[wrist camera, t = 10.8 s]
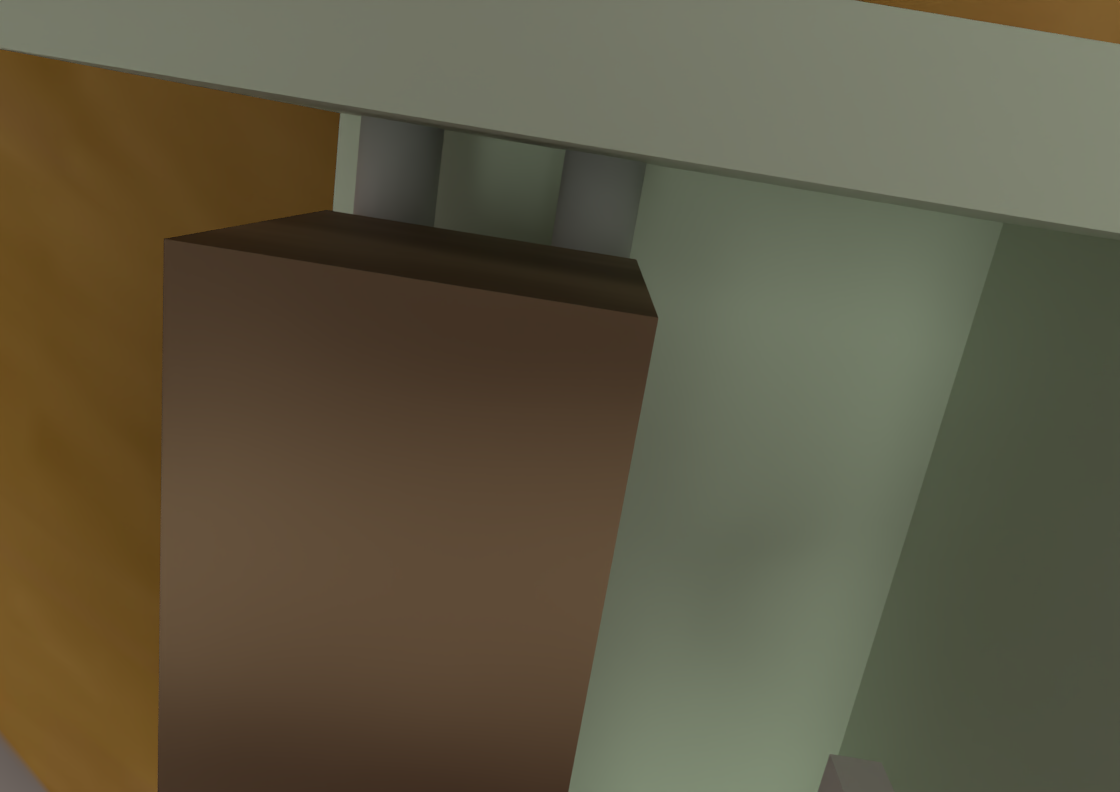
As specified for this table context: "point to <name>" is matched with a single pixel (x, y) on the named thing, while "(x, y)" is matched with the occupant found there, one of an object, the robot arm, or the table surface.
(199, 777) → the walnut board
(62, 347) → the table surface
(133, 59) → the open storage box
